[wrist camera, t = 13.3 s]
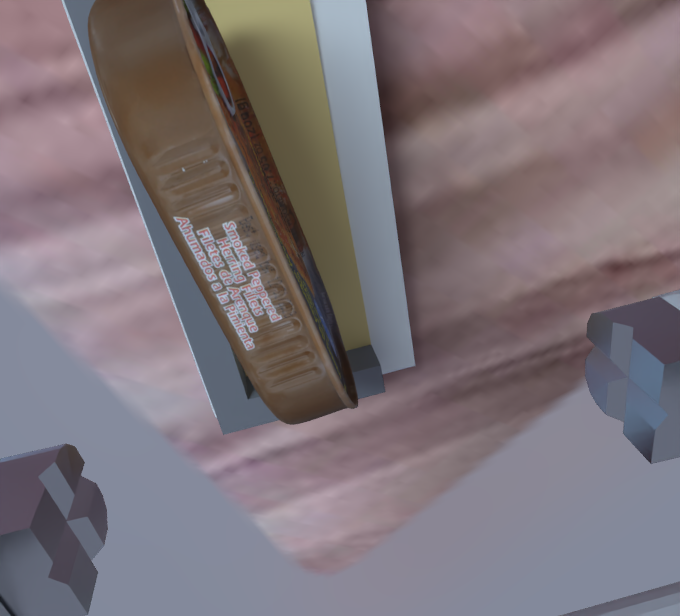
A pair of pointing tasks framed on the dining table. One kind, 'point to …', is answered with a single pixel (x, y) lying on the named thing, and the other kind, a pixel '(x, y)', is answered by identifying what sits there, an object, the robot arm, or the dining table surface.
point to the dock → (299, 186)
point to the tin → (221, 198)
